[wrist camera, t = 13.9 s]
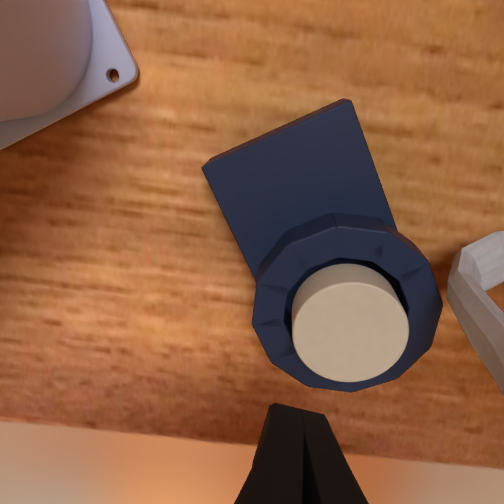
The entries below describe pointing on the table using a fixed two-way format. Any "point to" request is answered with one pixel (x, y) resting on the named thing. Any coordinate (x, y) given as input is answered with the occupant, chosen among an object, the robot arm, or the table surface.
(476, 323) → the mug
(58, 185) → the table surface
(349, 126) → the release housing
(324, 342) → the release button
